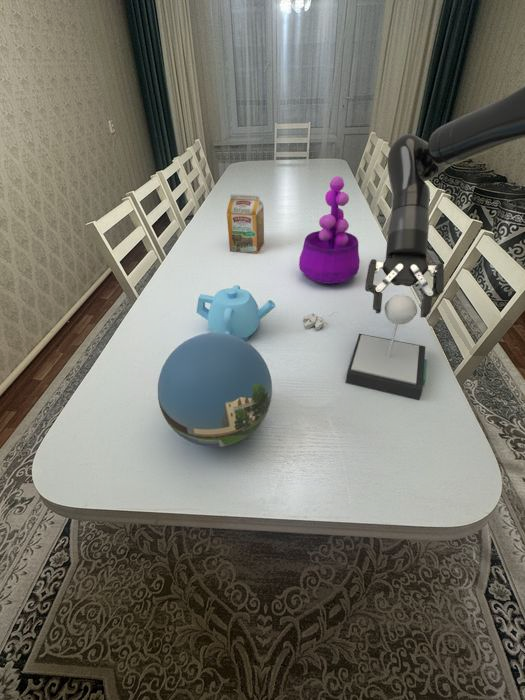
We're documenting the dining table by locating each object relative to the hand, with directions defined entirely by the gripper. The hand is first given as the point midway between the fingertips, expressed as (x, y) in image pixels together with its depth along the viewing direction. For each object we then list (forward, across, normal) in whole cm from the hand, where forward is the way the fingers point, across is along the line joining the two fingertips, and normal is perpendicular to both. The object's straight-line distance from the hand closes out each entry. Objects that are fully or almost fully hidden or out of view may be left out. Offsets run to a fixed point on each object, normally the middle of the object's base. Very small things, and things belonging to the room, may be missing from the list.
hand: (400, 314), depth 70 cm
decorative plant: (-20, -15, +42) cm, 49 cm away
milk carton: (-34, -47, +56) cm, 81 cm away
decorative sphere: (+26, -32, -4) cm, 41 cm away
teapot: (+4, -37, +18) cm, 41 cm away
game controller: (-2, -15, +24) cm, 28 cm away
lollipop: (+8, 0, +10) cm, 12 cm away
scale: (+10, 0, +12) cm, 15 cm away
